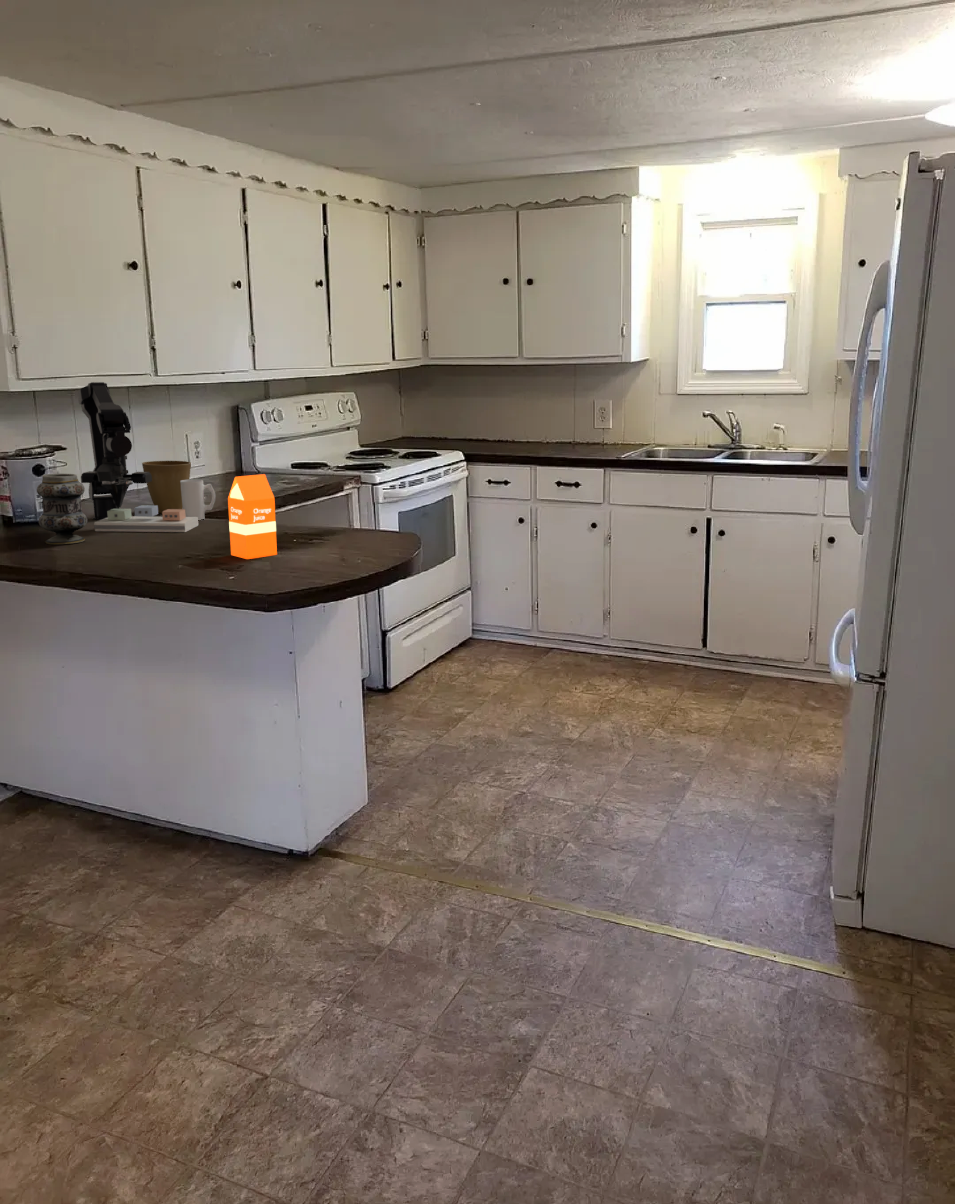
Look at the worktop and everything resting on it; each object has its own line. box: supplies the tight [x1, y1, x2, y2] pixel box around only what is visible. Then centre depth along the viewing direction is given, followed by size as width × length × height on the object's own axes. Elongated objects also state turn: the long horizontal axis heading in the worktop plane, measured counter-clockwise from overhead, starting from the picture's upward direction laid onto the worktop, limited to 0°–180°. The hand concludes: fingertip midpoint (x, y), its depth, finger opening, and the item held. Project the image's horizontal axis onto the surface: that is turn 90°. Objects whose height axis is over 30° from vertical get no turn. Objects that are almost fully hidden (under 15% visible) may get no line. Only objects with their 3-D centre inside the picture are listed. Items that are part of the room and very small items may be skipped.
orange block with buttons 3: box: [161, 508, 186, 521], centre depth 284 cm, size 5×5×2 cm
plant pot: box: [141, 460, 192, 514], centre depth 313 cm, size 15×15×16 cm
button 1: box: [107, 508, 133, 520], centre depth 284 cm, size 5×5×2 cm
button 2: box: [133, 504, 159, 517], centre depth 284 cm, size 5×5×2 cm
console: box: [93, 515, 199, 533], centre depth 285 cm, size 26×12×2 cm, turn 88°
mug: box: [180, 478, 216, 521], centre depth 300 cm, size 10×7×12 cm, turn 107°
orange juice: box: [227, 473, 278, 560], centre depth 245 cm, size 8×9×20 cm
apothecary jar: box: [36, 473, 89, 546], centre depth 261 cm, size 12×12×18 cm
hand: (119, 507), depth 284 cm, fingers closed
